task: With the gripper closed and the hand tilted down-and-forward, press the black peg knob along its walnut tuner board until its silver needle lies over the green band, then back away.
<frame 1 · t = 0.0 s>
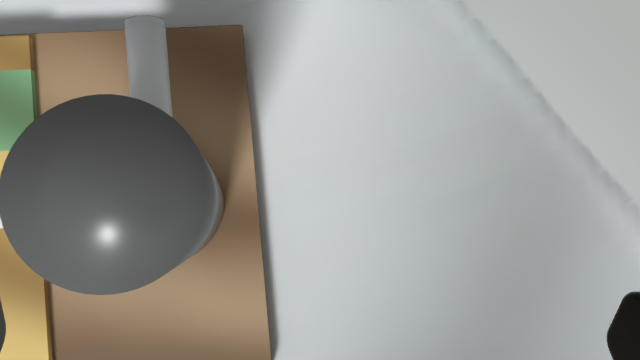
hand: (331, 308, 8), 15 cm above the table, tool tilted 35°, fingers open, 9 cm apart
tuner board: (170, 205, 22), on the table
peg: (40, 136, 16), point 6 cm above the table, slide at 0.0 cm
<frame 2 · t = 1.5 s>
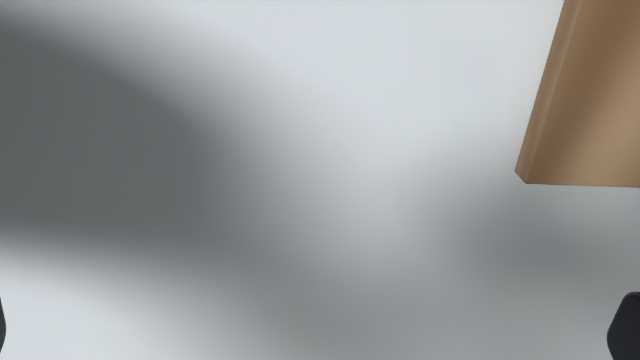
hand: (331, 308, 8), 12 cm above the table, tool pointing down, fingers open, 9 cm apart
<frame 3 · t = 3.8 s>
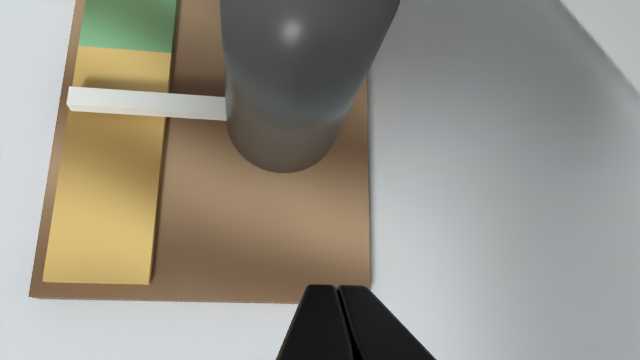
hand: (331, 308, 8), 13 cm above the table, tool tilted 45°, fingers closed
tuner board: (280, 131, 23), on the table
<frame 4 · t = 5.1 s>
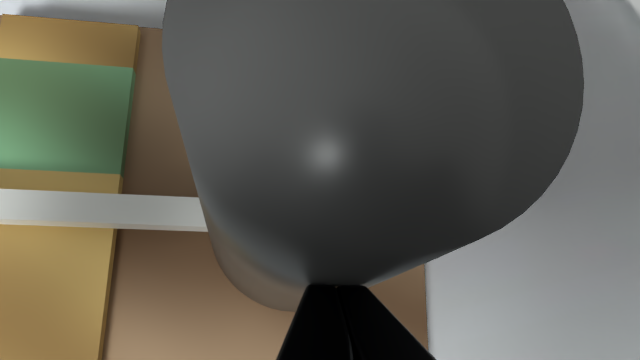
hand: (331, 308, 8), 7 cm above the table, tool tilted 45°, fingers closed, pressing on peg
tuner board: (290, 284, 15), on the table
peg: (172, 54, 10), point 6 cm above the table, slide at 1.4 cm, touching gripper
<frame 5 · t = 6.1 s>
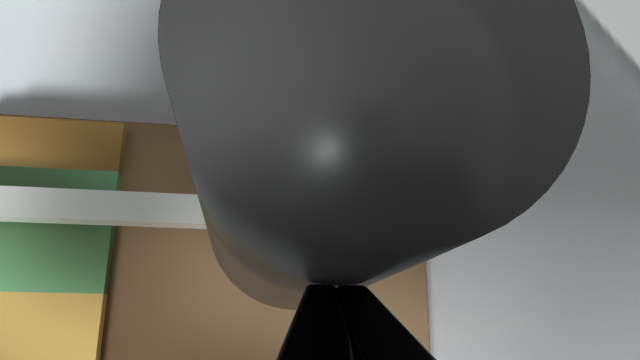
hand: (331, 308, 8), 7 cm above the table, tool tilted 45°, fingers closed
peg: (170, 49, 10), point 6 cm above the table, slide at 4.4 cm
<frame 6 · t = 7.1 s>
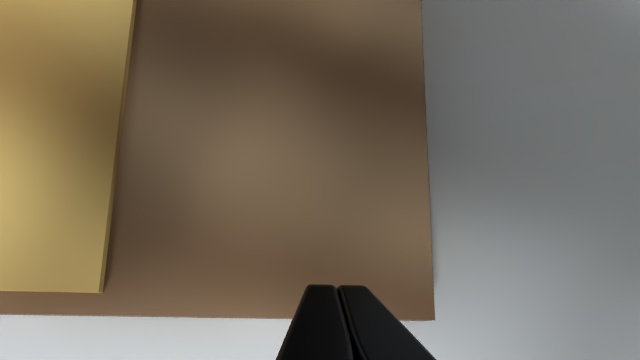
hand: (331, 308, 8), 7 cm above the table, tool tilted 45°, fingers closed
tuner board: (297, 72, 16), on the table
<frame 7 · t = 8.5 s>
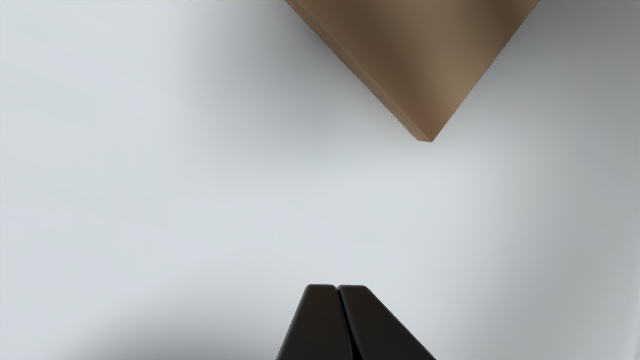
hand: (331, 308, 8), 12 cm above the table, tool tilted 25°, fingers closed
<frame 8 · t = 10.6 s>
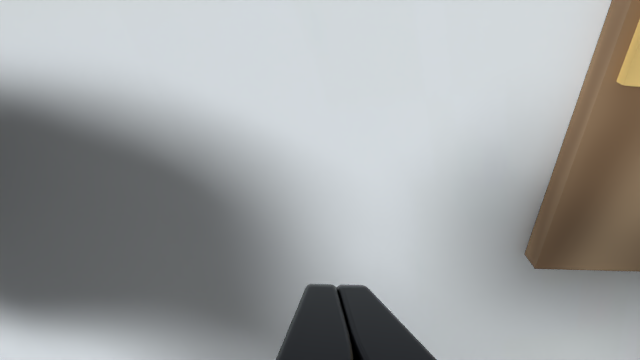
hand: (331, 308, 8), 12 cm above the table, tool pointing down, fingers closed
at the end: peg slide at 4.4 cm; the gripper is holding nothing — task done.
